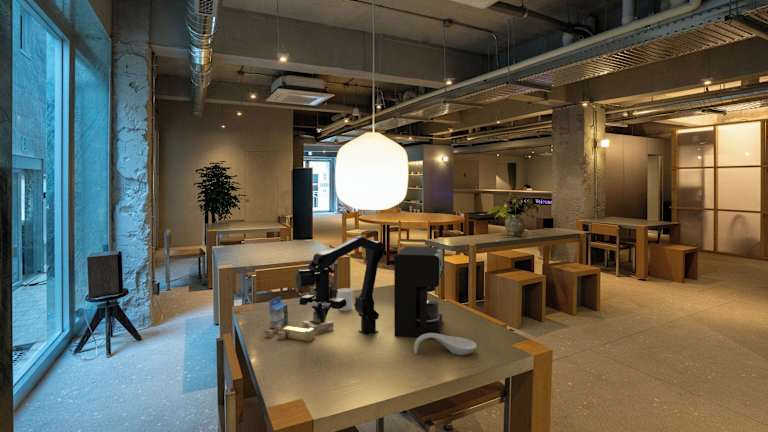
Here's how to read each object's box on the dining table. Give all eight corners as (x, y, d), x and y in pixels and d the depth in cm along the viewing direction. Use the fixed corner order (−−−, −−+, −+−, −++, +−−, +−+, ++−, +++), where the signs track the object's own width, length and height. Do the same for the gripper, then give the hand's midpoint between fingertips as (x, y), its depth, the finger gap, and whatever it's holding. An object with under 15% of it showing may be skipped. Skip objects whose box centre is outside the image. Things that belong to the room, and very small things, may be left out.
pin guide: (294, 333, 171) (293, 327, 171) (283, 339, 164) (283, 333, 164) (276, 330, 175) (275, 324, 174) (265, 336, 168) (265, 330, 168)
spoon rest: (472, 346, 158) (472, 328, 157) (480, 358, 146) (480, 339, 146) (412, 346, 157) (412, 329, 157) (415, 359, 146) (415, 340, 145)
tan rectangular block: (314, 338, 165) (314, 328, 165) (309, 341, 162) (309, 331, 161) (288, 333, 170) (288, 324, 170) (282, 337, 167) (282, 327, 166)
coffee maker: (439, 343, 160) (440, 256, 158) (391, 339, 164) (391, 255, 162) (443, 320, 188) (444, 246, 185) (402, 318, 191) (402, 245, 189)
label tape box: (277, 328, 177) (276, 301, 176) (269, 327, 178) (269, 300, 178) (288, 322, 185) (287, 296, 185) (280, 321, 187) (280, 295, 186)
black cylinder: (324, 329, 176) (324, 312, 175) (315, 331, 173) (315, 313, 173) (320, 327, 179) (319, 309, 178) (311, 329, 177) (311, 311, 176)
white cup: (354, 307, 210) (354, 288, 209) (351, 311, 202) (351, 292, 201) (339, 306, 211) (339, 287, 210) (336, 311, 203) (336, 291, 202)
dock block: (333, 330, 175) (333, 322, 175) (313, 335, 169) (312, 327, 169) (322, 324, 183) (322, 316, 183) (302, 328, 177) (302, 321, 177)
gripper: (352, 281, 164) (352, 319, 165) (313, 278, 171) (313, 314, 172) (339, 288, 154) (339, 327, 155) (298, 284, 161) (299, 322, 162)
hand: (323, 322), depth 161 cm, fingers closed
